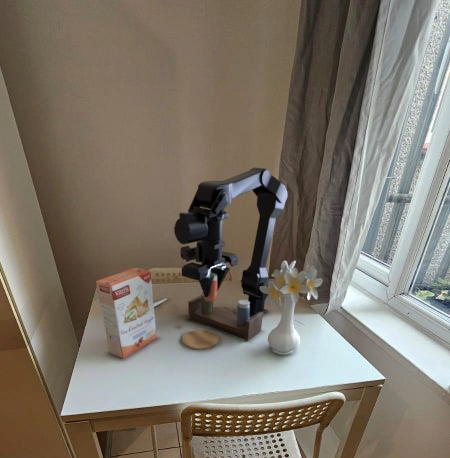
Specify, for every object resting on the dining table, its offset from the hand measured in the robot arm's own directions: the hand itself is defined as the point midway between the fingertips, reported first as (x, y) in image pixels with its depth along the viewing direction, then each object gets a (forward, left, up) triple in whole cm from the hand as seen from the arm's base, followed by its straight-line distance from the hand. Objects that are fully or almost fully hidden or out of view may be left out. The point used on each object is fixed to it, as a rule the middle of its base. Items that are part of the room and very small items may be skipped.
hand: (210, 294), depth 97 cm
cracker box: (+20, -13, -13) cm, 27 cm away
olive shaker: (-7, -7, -10) cm, 14 cm away
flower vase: (-5, +23, -13) cm, 27 cm away
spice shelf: (-7, 0, -13) cm, 15 cm away
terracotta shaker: (0, 0, -1) cm, 1 cm away
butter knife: (+2, -28, -13) cm, 31 cm away
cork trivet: (+5, 0, -13) cm, 14 cm away
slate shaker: (-7, +7, -10) cm, 14 cm away
